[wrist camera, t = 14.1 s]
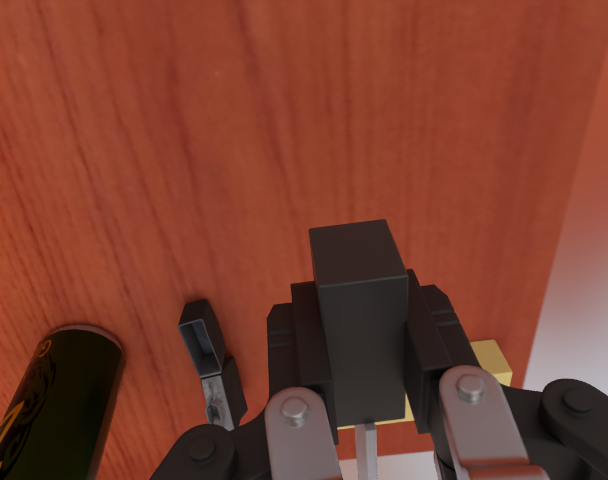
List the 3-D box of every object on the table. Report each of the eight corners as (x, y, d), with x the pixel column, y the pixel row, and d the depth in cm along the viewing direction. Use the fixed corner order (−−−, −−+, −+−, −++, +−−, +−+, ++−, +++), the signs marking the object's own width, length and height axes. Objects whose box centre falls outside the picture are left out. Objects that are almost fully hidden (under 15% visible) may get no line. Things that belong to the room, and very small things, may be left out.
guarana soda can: (137, 332, 32) (86, 525, 22) (118, 388, 35) (65, 584, 25) (45, 311, 31) (-53, 508, 21) (33, 372, 34) (-59, 573, 24)
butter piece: (494, 338, 36) (513, 371, 33) (488, 374, 38) (505, 407, 35) (458, 343, 36) (474, 376, 33) (454, 378, 37) (468, 412, 35)
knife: (307, 227, 13) (319, 292, 11) (385, 217, 13) (411, 280, 11) (339, 515, 21) (349, 585, 19) (388, 508, 21) (403, 578, 19)
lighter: (188, 300, 34) (162, 313, 29) (218, 292, 34) (197, 304, 29) (219, 417, 34) (198, 450, 29) (248, 410, 34) (233, 442, 29)
